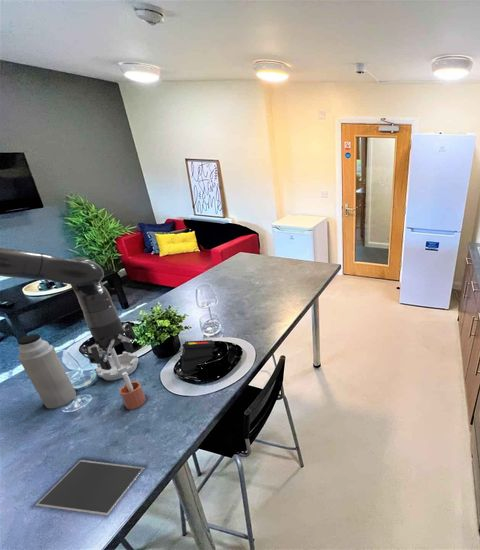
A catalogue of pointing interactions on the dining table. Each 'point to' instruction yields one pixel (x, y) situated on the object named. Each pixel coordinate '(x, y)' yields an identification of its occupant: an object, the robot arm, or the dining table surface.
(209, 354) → the striped top black block
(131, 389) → the stylus
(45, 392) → the thermos bottle
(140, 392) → the pen cup
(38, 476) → the dining table surface
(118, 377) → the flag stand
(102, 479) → the tablet
